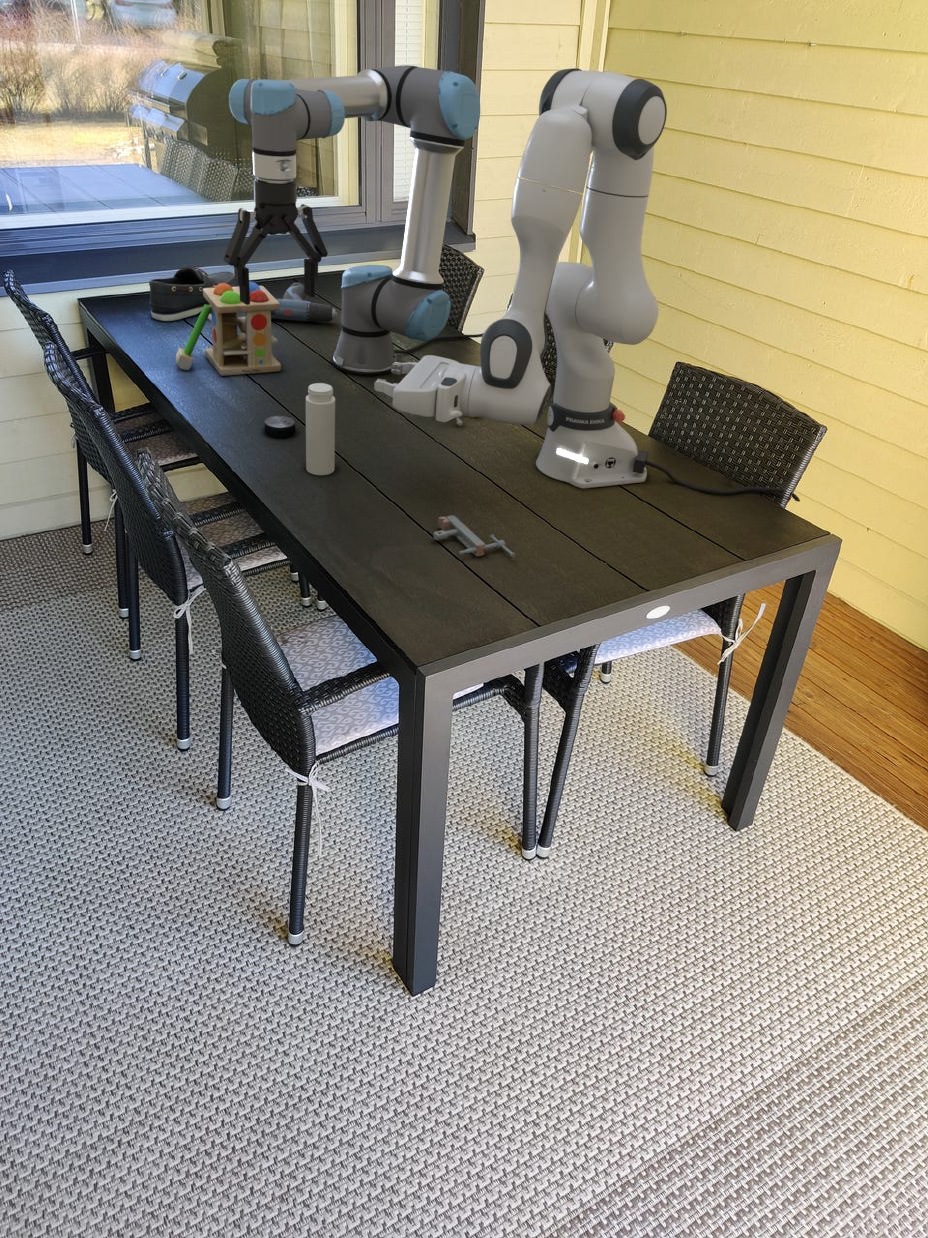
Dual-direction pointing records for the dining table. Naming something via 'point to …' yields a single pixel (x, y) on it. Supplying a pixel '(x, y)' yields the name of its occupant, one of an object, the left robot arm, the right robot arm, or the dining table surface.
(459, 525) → the clamp
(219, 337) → the pounding bench toy
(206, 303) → the boat shoe
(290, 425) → the lid
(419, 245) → the left robot arm
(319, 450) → the jar
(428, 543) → the dining table surface
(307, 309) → the power drill
